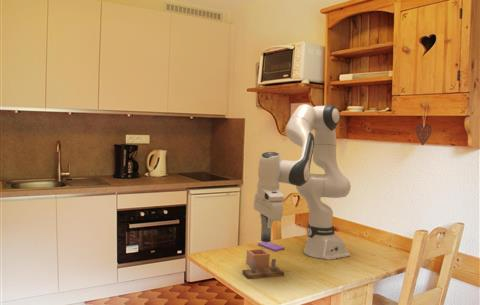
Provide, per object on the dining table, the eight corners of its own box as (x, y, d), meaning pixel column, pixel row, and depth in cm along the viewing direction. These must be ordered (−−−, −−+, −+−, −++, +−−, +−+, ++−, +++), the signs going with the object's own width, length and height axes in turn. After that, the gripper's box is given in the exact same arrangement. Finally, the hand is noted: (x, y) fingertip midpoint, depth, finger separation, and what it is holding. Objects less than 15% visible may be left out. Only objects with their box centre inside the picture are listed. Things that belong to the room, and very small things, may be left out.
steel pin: (268, 238, 166) (269, 215, 165) (272, 241, 163) (273, 217, 162) (259, 239, 165) (260, 215, 164) (263, 242, 161) (264, 218, 160)
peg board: (277, 270, 170) (278, 256, 170) (283, 275, 164) (284, 261, 164) (242, 273, 164) (243, 259, 164) (247, 279, 159) (248, 264, 158)
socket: (261, 261, 180) (262, 248, 179) (269, 267, 173) (269, 254, 172) (246, 263, 177) (246, 249, 177) (252, 269, 170) (253, 255, 170)
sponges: (267, 244, 209) (267, 240, 209) (284, 250, 200) (285, 246, 200) (257, 246, 205) (257, 242, 204) (275, 253, 195) (275, 249, 195)
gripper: (251, 187, 170) (249, 219, 172) (271, 197, 151) (269, 233, 153) (264, 187, 173) (262, 219, 174) (286, 197, 154) (284, 232, 155)
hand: (266, 225), depth 163 cm, fingers closed on steel pin, 4 cm apart
